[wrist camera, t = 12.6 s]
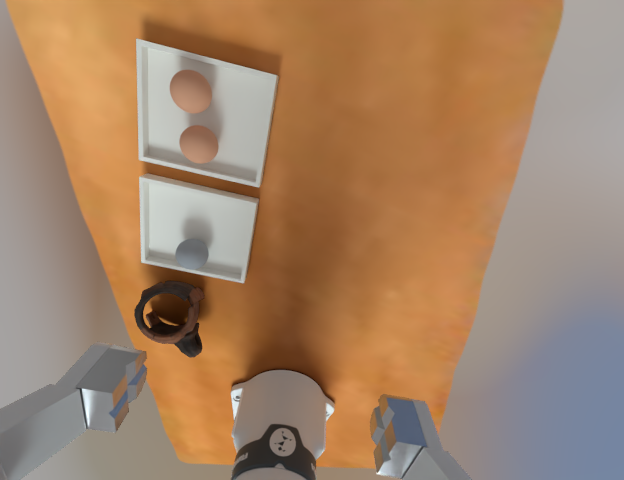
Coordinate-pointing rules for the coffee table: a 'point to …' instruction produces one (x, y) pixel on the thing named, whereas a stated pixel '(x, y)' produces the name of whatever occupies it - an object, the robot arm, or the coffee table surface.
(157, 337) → the pottery mug
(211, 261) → the dish
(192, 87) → the terracotta ball
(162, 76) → the dish
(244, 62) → the coffee table surface
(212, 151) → the terracotta ball
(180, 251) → the ball grey
